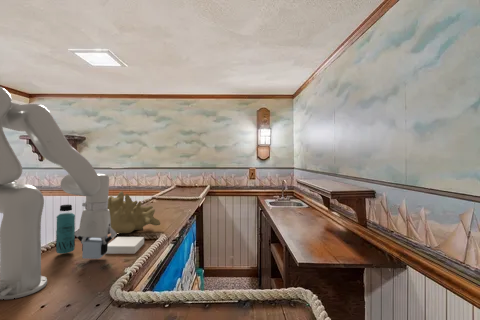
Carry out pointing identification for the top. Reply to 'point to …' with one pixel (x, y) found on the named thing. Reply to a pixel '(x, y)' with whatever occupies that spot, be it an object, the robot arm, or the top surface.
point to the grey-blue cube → (92, 248)
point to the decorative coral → (129, 214)
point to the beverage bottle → (65, 230)
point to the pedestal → (125, 245)
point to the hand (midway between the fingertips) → (94, 253)
